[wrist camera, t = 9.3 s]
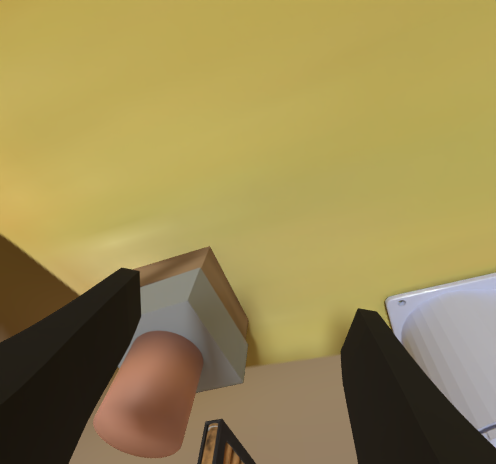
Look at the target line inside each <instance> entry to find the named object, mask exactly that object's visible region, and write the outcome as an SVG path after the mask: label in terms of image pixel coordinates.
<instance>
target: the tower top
mask: <svg viewBox="0 0 496 464" xmlns="http://www.w3.org/2000/svg"><path fill="white" fill-rule="evenodd" d="M140 294H141V319H140V321H139V324H138V326H137V329H136V331H135V334H134V336H133V339H132V341H131V343H130V345H129V347H128V349H127V351H126V353H125V354H124V356H123V358H122V360H121V362H120V363H119V365H118V367H119V369H120V367H121V365H122V363H123V361H124V359H125V357H126V356H127V354H128V352H129V350H130V348H131V346H132V344H133V342H134V341H135V339H136V338H137V337H139V336H140V335H142V334H144V333H146V332H150V331H168V332H172V333H176V334H178V335H181V336H183V337H185V338H187V339H188V340H190V341H191V342H192V343H193V344H194V345H196V347H197V348H198V349H199V350H200V352H201V354H202V357H203V368H202V371H201V375H200V379H199V383H198V386H197V390H196V393H198V392H203V391H207V390H212V389H217V388H222V387H227V386H231V385H236V384H241V383H243V381H244V374H245V366H246V358H247V350H248V344H247V342H246V340H245V339H244V337H243V336H242V334H241V332H240V331H239V329H238V328H237V326H236V324H235V323H234V321H233V319H232V318H231V316H230V315H229V313H228V311H227V310H226V308H225V307H224V305H223V303H222V302H221V300H220V298H219V297H218V295H217V294H216V292H215V290H214V289H213V287H212V286H211V284H210V282H209V281H208V279H207V277H206V276H205V274H204V273H203V271H202V269H201V268H197V269H194V270H191V271H188V272H185V273H182V274H179V275H176V276H173V277H170V278H167V279H164V280H161V281H158V282H155V283H152V284H149V285H146V286H143V287H140Z"/></svg>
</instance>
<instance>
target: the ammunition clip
mask: <svg viewBox="0 0 496 464" xmlns="http://www.w3.org/2000/svg"><path fill="white" fill-rule="evenodd" d="M197 464H256V463H255V462H254V460H253V459H252V458H251V456H250V455H249V454H248V453H247V451H246V450H245V448H244V447H243V446H242V444H241V443H240V442H239V440H238V439H237V438H236V436H235V435H234V434H233V432H232V431H231V430H230V429H229V427H228V426H227V424H226V423H225V422H224V420H223V419H219V420H212V421H206V422H205V427H204V432H203V437H202V442H201V448H200V453H199V458H198V463H197Z"/></svg>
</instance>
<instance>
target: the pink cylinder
mask: <svg viewBox="0 0 496 464" xmlns="http://www.w3.org/2000/svg"><path fill="white" fill-rule="evenodd" d="M202 368H203V357H202V354H201V352H200V350H199V349H198V348H197V347H196V345H194V344H193V343H192V342H191V341H190V340H188V339H187V338H185V337H183V336H181V335H178V334H176V333H172V332H168V331H150V332H146V333H144V334H142V335H140V336H139V337H137V338H136V339H135V341H134V342H133V344H132V346H131V348H130V350H129V352H128V354H127V356H126V357H125V359H124V361H123V363H122V365H121V367H120V369H119V371H118V373H117V375H116V377H115V379H114V380H113V382H112V384H111V386H110V388H109V390H108V392H107V394H106V396H105V398H104V400H103V402H102V404H101V405H100V407H99V409H98V411H97V413H96V415H95V417H94V421H93V424H94V428H95V430H96V432H97V434H99V436H100V437H101V438H102V439H103V440H104V441H105V442H106V443H108V444H109V445H111V446H113V447H114V448H116V449H118V450H120V451H122V452H125V453H128V454H131V455H134V456H139V457H145V458H162V457H167V456H170V455H172V454H174V453H176V452H177V451H178V450H179V449H180V448H181V445H182V442H183V439H184V435H185V431H186V427H187V424H188V419H189V416H190V412H191V408H192V405H193V401H194V398H195V394H196V390H197V386H198V383H199V379H200V375H201V371H202Z"/></svg>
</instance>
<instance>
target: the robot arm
mask: <svg viewBox="0 0 496 464" xmlns="http://www.w3.org/2000/svg"><path fill="white" fill-rule="evenodd" d="M401 300H404V301H402V302H399V301H401ZM385 304H386V308H387V311H388V315H389V319H390V322H391V326H392V329H393V332H392V331H391V329H390V328H389V327H388V325H387V324H386V323H385V321H384V320H383V319H382V317H381V316H380V315H379V314H378V312H376V311H370V310H364V309H359V308H358V310H357V312H356V314H355V317H354V319H353V322H352V324H351V327H350V329H349V332H348V334H347V337H346V339H345V342H344V344H343V347H342V349H341V368H342V379H343V387H344V392H345V398H346V403H347V408H348V413H349V418H350V423H351V428H352V433H353V439H354V443H355V448H356V454H357V459H358V464H496V273H492V274H487V275H483V276H479V277H474V278H470V279H465V280H461V281H456V282H452V283H447V284H443V285H438V286H434V287H429V288H425V289H421V290H416V291H412V292H407V293H403V294H398V295H394V296H390V297H388V298H387V299H386V300H385ZM140 319H141V294H140V271H137V270H132V269H126V268H120V269H119V270H117V271H116V272H114V273H113V274H111V275H110V276H108V277H107V278H106V279H104V280H103V281H101V282H100V283H98V284H97V285H95V286H94V287H92V288H91V289H90V290H88V291H87V292H85V293H84V294H82V295H81V296H79V297H78V298H76V299H75V300H73V301H72V302H70V303H68V304H67V305H65V306H64V307H62V308H61V309H59V310H57V311H56V312H54V313H52V314H51V315H49V316H48V317H46V318H44V319H43V320H41V321H39V322H37V323H36V324H34V325H32V326H31V327H29V328H27V329H25V330H24V331H22V332H20V333H18V334H16V335H14V336H12V337H11V338H9V339H7V340H4V341H3V342H1V343H0V464H69V461H70V459H71V456H72V454H73V452H74V450H75V448H76V446H77V443H78V441H79V439H80V437H81V434H82V432H83V430H84V428H85V426H86V423H87V421H88V419H89V418H90V416H91V414H92V412H93V410H94V408H95V406H96V404H97V403H98V401H99V399H100V397H101V395H102V394H103V392H104V390H105V388H106V387H107V385H108V383H109V381H110V379H111V378H112V376H113V374H114V372H115V370H116V369H117V367H118V365H119V363H120V362H121V360H122V358H123V356H124V354H125V353H126V351H127V349H128V347H129V345H130V343H131V341H132V339H133V336H134V334H135V331H136V329H137V326H138V324H139V321H140Z"/></svg>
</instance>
